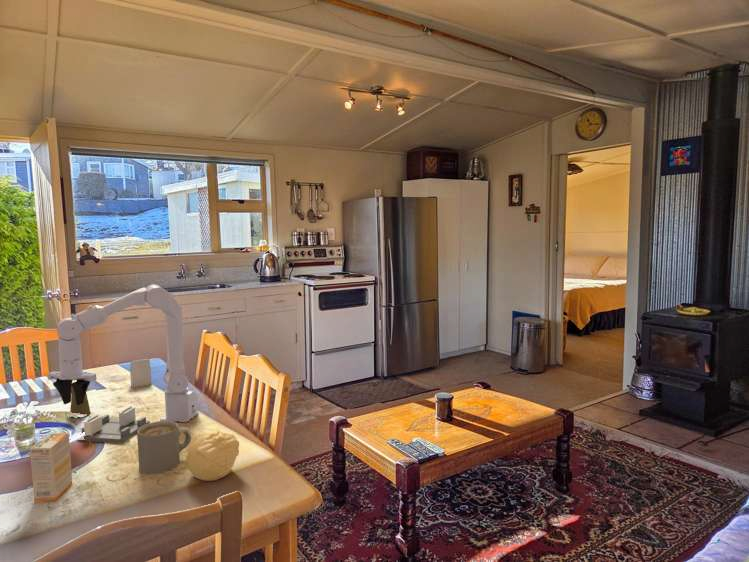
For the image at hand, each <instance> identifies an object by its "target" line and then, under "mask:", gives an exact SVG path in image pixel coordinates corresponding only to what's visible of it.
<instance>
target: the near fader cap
mask: <svg viewBox="0 0 749 562" xmlns="http://www.w3.org/2000/svg"><path fill="white" fill-rule="evenodd" d="M102 417H103V416H102V415H99V414H95V415H94V416H92V417H91V418H89V419H87V420H84V421H83V427H84V431H85V435H93V434H94V433H96V432H98V431H99V430H101V429H103V428H102Z"/></svg>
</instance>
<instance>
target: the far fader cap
mask: <svg viewBox="0 0 749 562" xmlns="http://www.w3.org/2000/svg"><path fill="white" fill-rule="evenodd" d="M118 419H119V425H120V426H126V425H128V424H129V423H131V422H133V421H134V420H137V419H136V407H134V406H129V407H127V408H125V409H124V410H121V411H120V412H118Z"/></svg>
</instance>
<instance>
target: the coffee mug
mask: <svg viewBox="0 0 749 562" xmlns="http://www.w3.org/2000/svg"><path fill="white" fill-rule="evenodd" d="M136 434H137V453H138V455H137V456H138V469H139V471H140V472H141V471H142V473H143V472H144V473H143V474H150V475H151V474H152V475H154V474H160V473H161V472H162V473H165V472H164V471H166V472H168V470H169V471H170V469H171V470H173V469H175V468H176V467H178V466H179V465H180V463H181V457H180V456H181V455H180V454H181V452H182V451H184V449H186V448H187V447H189V445H190V444H191V439H192V434H191V430H190V429H189V428H188V427H186V426H182V427H179V424H178V423H177V421H161V420H159V421H158V420H157V421H152V422H150V423H149V424H146V425H143V426H142V427H140V428H139V429H138V430H137V433H136ZM181 434H184V435H185V436H184V437H185V438H184V441H183V442H181V443H180V436H181ZM178 464H179V465H178ZM177 465H178V466H177ZM174 467H175V468H174ZM172 468H173V469H172Z"/></svg>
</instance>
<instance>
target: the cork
mask: <svg viewBox="0 0 749 562" xmlns="http://www.w3.org/2000/svg"><path fill="white" fill-rule="evenodd" d="M88 388H89V387H88ZM88 388H87V390H88ZM69 409H70V411H69V413H70V412H72V413H80V414H87V415H88V416H90V415H91V414H92V413H91V408H90V404H89V399H88V395H87V393H86V394H85V398H84V403H82V404H80V405H77V404H76V399H75V392H74V389H73V387H72V386H71V402H70V408H69Z"/></svg>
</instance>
